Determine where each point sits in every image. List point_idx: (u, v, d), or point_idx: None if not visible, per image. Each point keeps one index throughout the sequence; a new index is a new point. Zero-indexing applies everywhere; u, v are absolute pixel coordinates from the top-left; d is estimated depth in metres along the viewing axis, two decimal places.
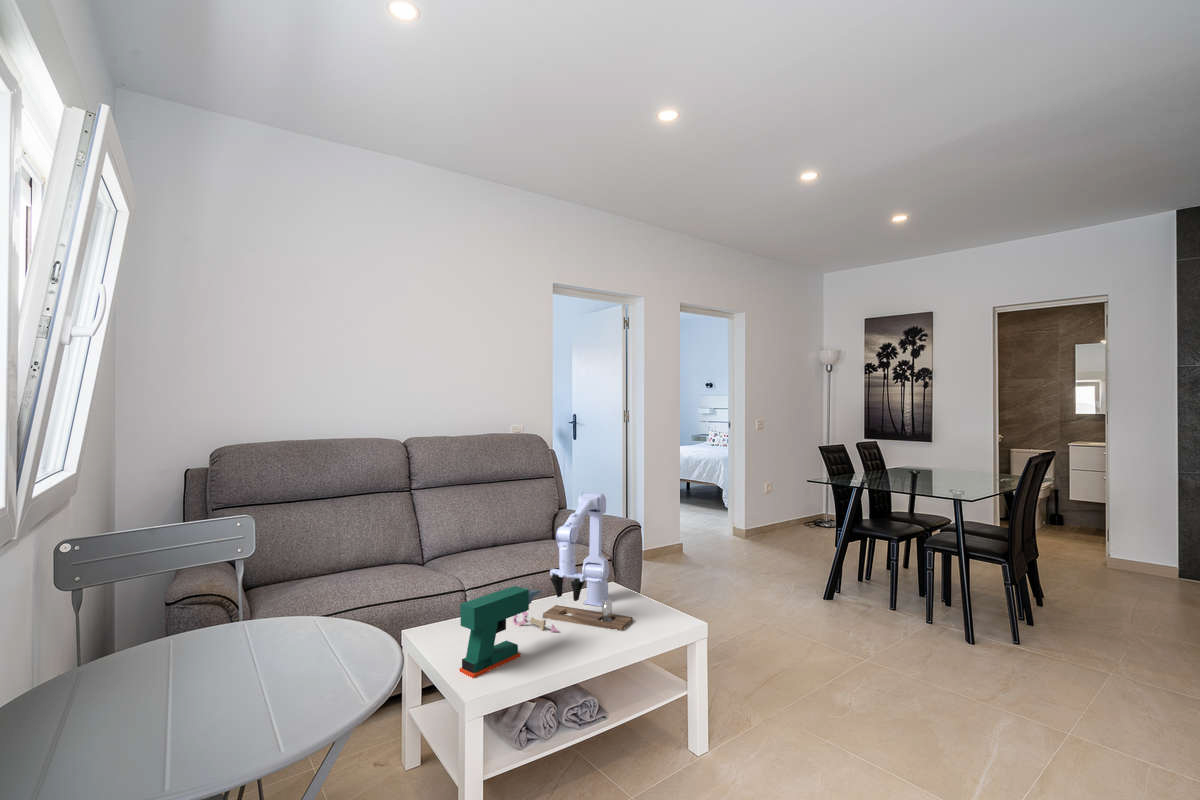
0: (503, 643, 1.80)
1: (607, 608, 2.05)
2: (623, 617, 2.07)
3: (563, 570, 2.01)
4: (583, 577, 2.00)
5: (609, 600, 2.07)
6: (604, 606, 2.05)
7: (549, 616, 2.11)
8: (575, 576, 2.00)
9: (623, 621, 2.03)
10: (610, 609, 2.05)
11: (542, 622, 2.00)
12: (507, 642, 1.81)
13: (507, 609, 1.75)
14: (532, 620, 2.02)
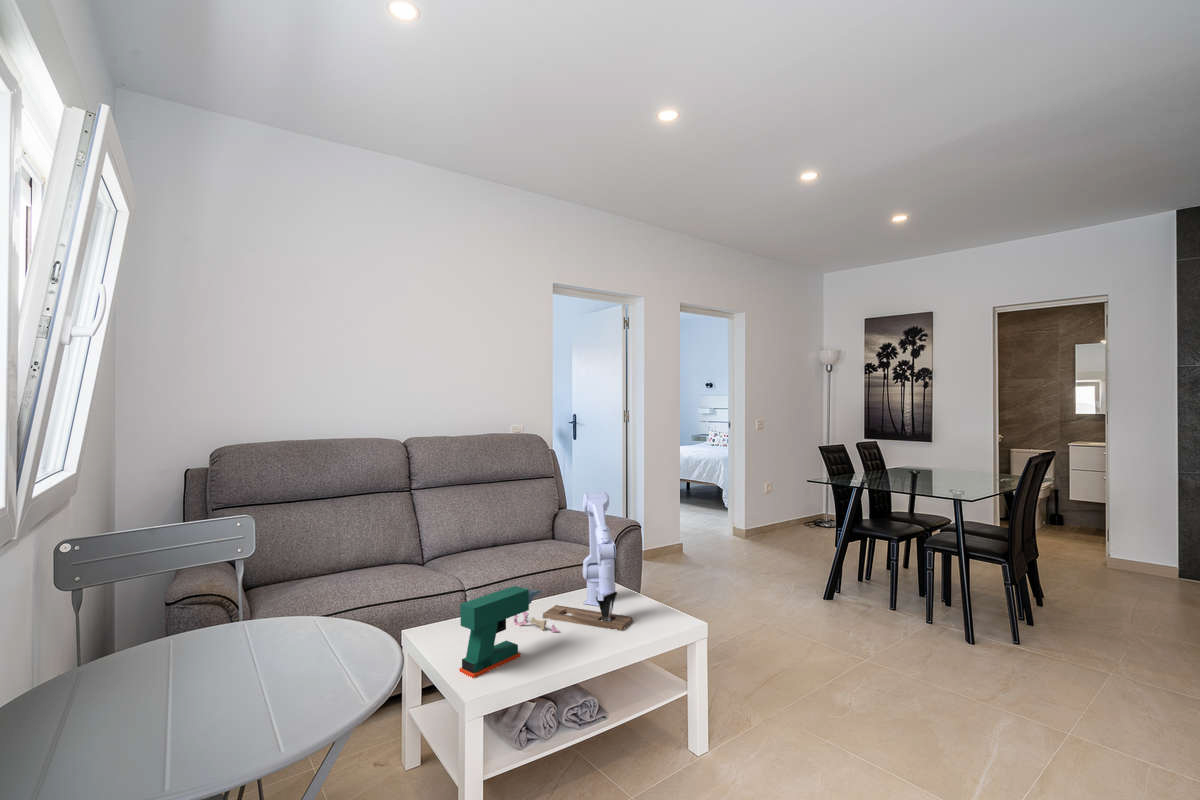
0: (503, 643, 1.80)
1: None
2: (623, 617, 2.07)
3: None
4: (599, 596, 2.00)
5: None
6: None
7: (549, 616, 2.11)
8: (598, 593, 2.03)
9: (623, 621, 2.03)
10: (610, 609, 2.05)
11: (543, 622, 2.00)
12: (507, 642, 1.81)
13: (507, 609, 1.75)
14: (533, 620, 2.02)
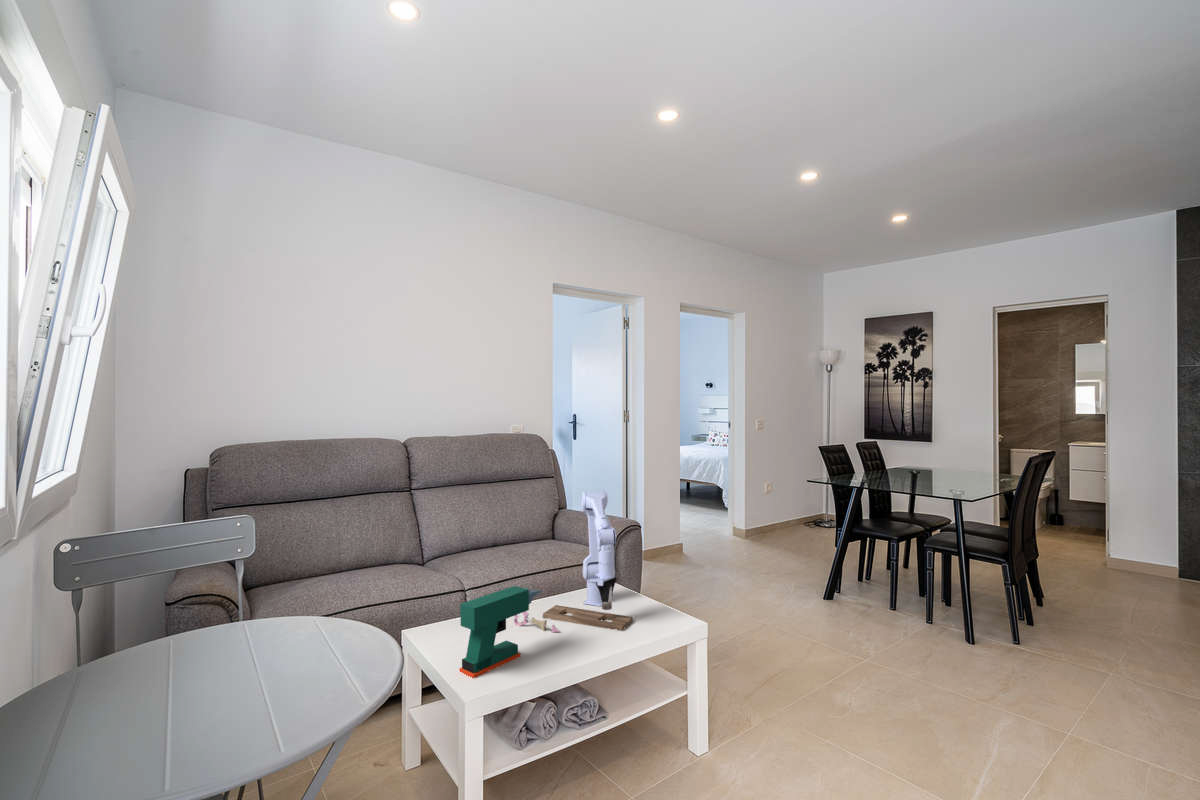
0: (503, 643, 1.80)
1: None
2: (623, 617, 2.07)
3: None
4: (599, 581, 2.00)
5: None
6: None
7: (549, 616, 2.11)
8: (598, 578, 2.03)
9: (623, 621, 2.03)
10: (610, 594, 2.06)
11: (543, 622, 2.00)
12: (507, 642, 1.81)
13: (507, 609, 1.75)
14: (533, 620, 2.02)
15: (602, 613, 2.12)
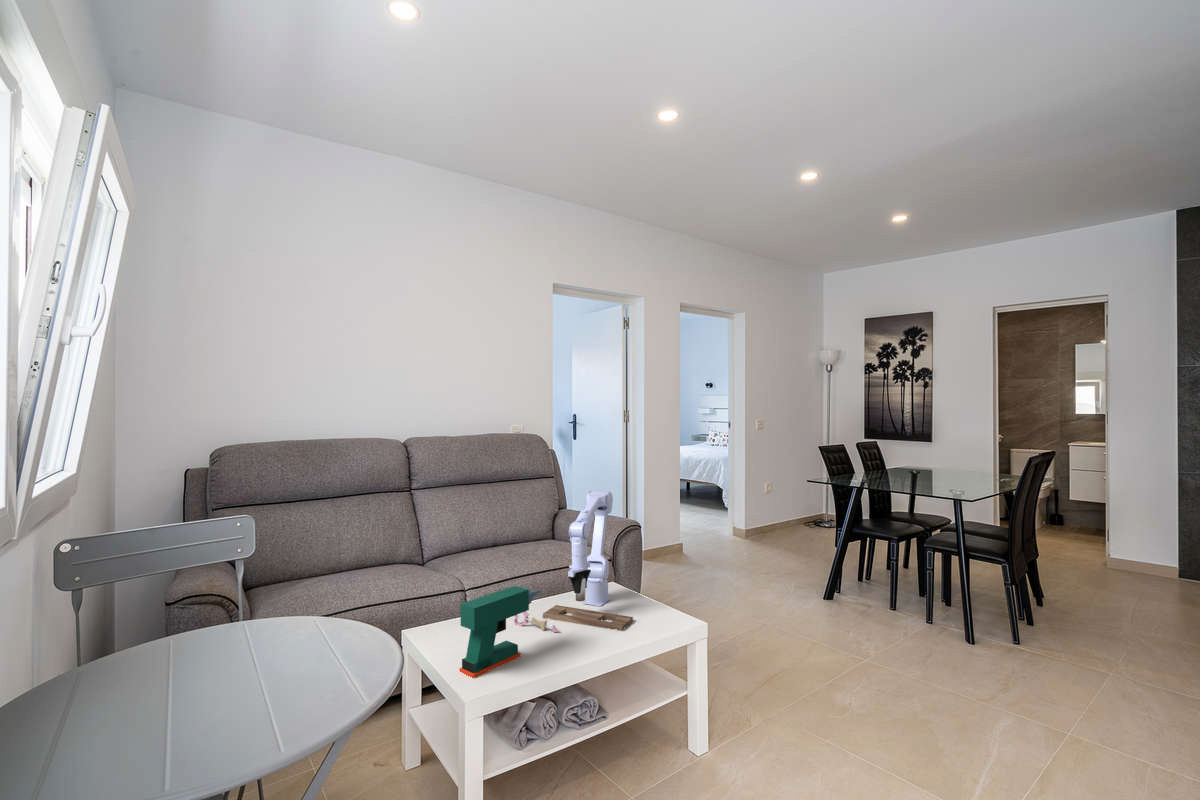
0: (503, 643, 1.80)
1: None
2: (623, 617, 2.07)
3: None
4: (570, 573, 2.05)
5: (583, 578, 2.11)
6: None
7: (549, 616, 2.11)
8: (570, 570, 2.08)
9: (623, 621, 2.03)
10: (583, 586, 2.10)
11: (543, 623, 2.00)
12: (507, 642, 1.81)
13: (507, 609, 1.75)
14: (533, 621, 2.02)
15: (602, 613, 2.12)
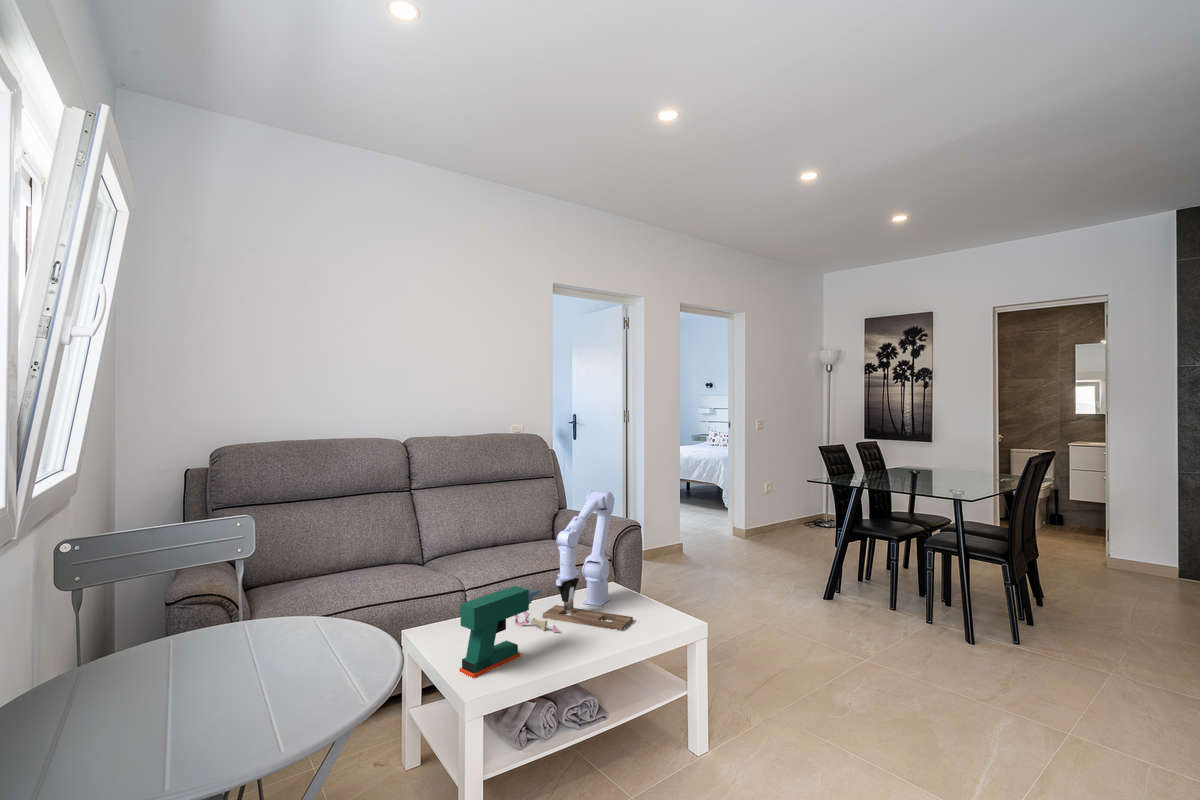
0: (503, 643, 1.80)
1: None
2: (623, 617, 2.07)
3: None
4: (557, 582, 2.07)
5: (571, 586, 2.13)
6: None
7: (549, 616, 2.11)
8: (558, 578, 2.10)
9: (623, 621, 2.03)
10: (571, 595, 2.12)
11: (543, 623, 2.00)
12: (507, 642, 1.81)
13: (507, 609, 1.75)
14: (533, 621, 2.02)
15: (602, 613, 2.12)
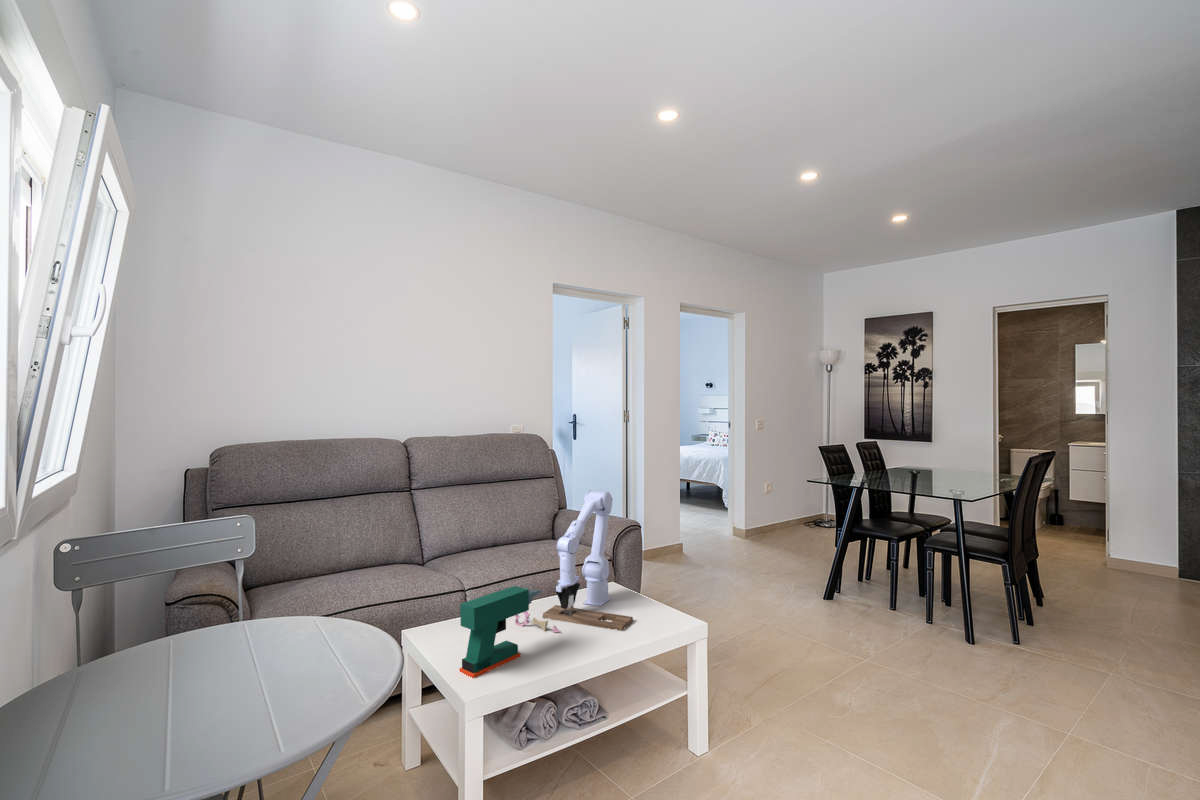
0: (503, 643, 1.80)
1: (568, 603, 2.11)
2: (623, 617, 2.07)
3: None
4: (557, 588, 2.07)
5: (571, 595, 2.13)
6: None
7: (549, 616, 2.11)
8: (558, 585, 2.10)
9: (623, 621, 2.03)
10: (571, 603, 2.12)
11: (544, 623, 1.99)
12: (507, 642, 1.81)
13: (507, 609, 1.75)
14: (534, 621, 2.02)
15: (602, 613, 2.12)
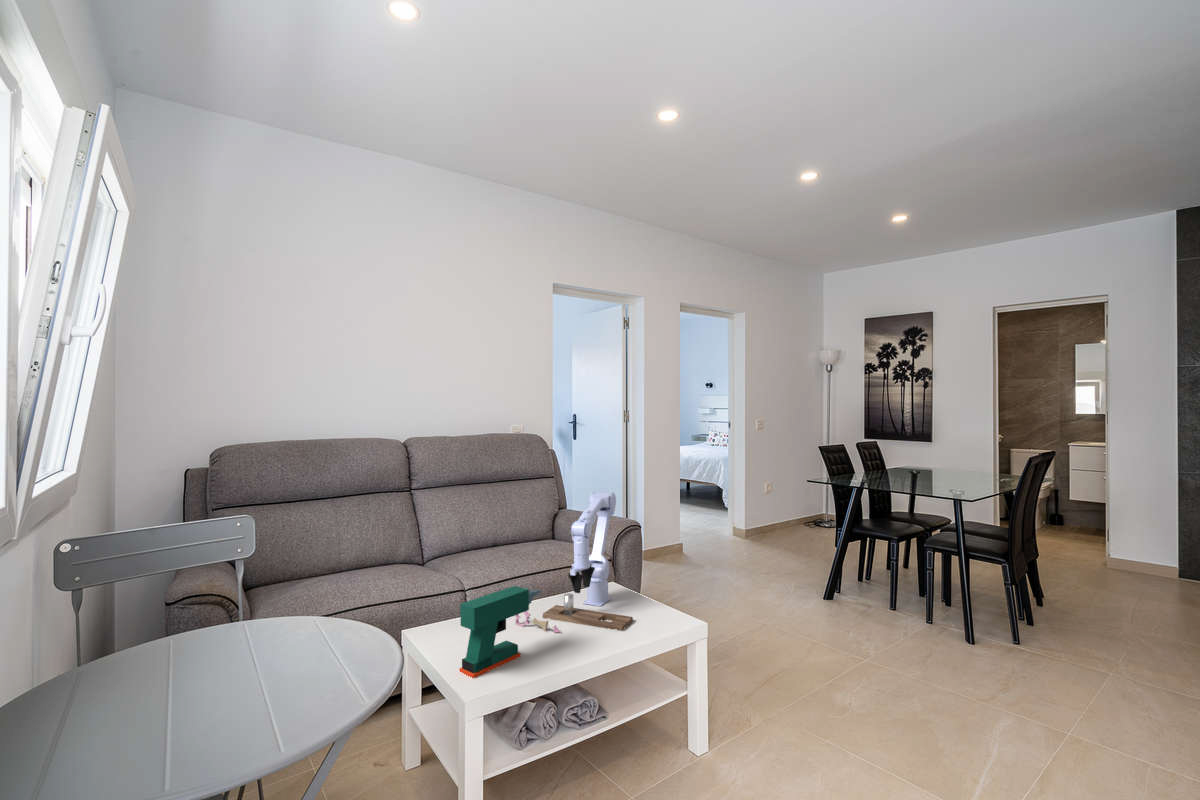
0: (503, 643, 1.80)
1: (568, 603, 2.12)
2: (623, 617, 2.07)
3: None
4: (571, 571, 2.09)
5: (571, 595, 2.13)
6: (565, 600, 2.12)
7: (549, 616, 2.11)
8: (572, 568, 2.11)
9: (623, 621, 2.03)
10: (571, 603, 2.12)
11: (544, 623, 1.99)
12: (507, 642, 1.81)
13: (507, 609, 1.75)
14: (534, 621, 2.02)
15: (602, 613, 2.12)
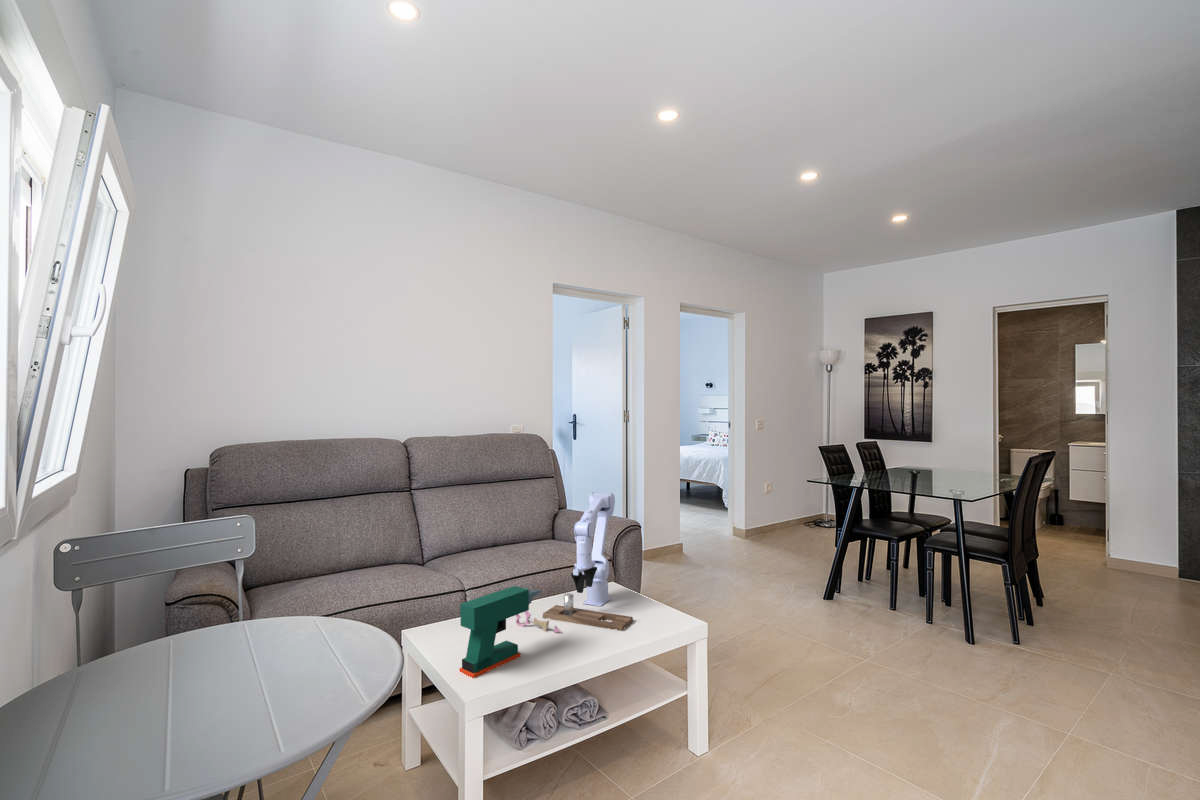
0: (503, 643, 1.80)
1: (568, 603, 2.12)
2: (623, 617, 2.07)
3: None
4: (574, 571, 2.09)
5: (571, 595, 2.13)
6: (565, 600, 2.12)
7: (549, 616, 2.11)
8: (575, 568, 2.12)
9: (623, 621, 2.03)
10: (571, 603, 2.12)
11: (545, 623, 1.99)
12: (507, 642, 1.81)
13: (507, 609, 1.75)
14: (535, 621, 2.01)
15: (602, 613, 2.12)
